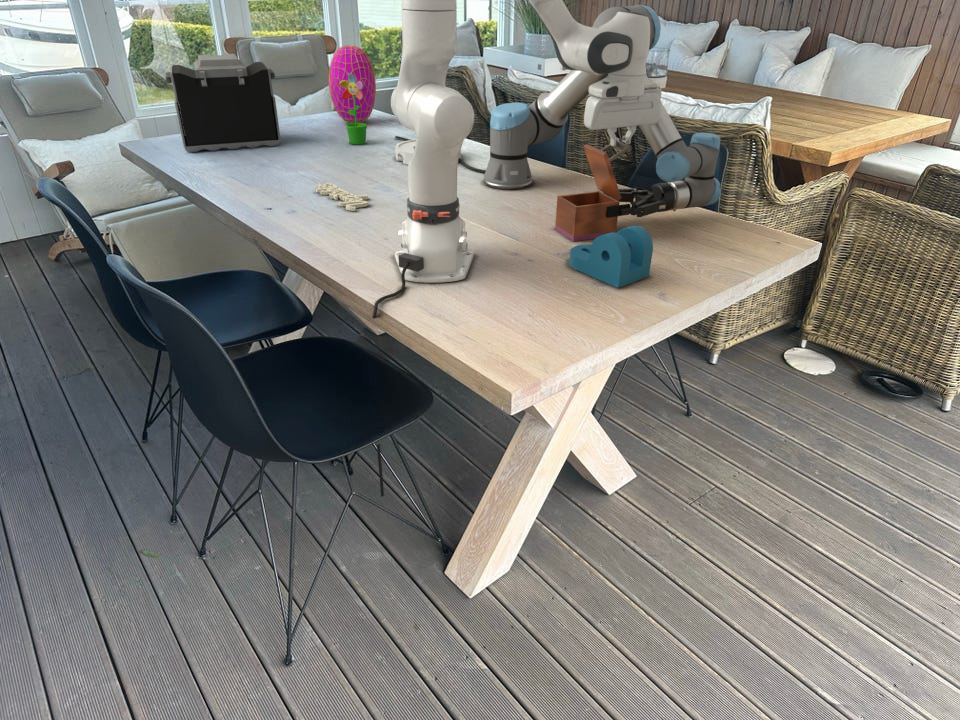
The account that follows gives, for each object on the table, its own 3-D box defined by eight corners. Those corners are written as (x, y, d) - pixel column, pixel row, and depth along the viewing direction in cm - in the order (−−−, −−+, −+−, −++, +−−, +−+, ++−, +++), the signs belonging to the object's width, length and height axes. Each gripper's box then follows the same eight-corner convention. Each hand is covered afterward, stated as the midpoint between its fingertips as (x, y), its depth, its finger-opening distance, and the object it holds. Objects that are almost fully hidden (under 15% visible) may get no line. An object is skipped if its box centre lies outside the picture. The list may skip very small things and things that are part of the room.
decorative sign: (381, 201, 196) (350, 208, 191) (381, 205, 197) (350, 211, 192) (338, 180, 214) (308, 186, 209) (338, 183, 215) (308, 189, 209)
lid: (603, 155, 166) (631, 137, 166) (582, 146, 173) (609, 129, 174) (618, 200, 173) (644, 183, 174) (597, 189, 181) (623, 173, 182)
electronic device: (278, 133, 274) (267, 51, 259) (285, 146, 256) (274, 59, 241) (180, 140, 262) (162, 54, 247) (180, 153, 244) (161, 62, 229)
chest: (573, 241, 174) (576, 207, 170) (554, 228, 182) (557, 195, 177) (615, 235, 178) (619, 201, 174) (596, 223, 186) (599, 190, 182)
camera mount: (649, 276, 155) (655, 231, 150) (618, 287, 149) (623, 242, 144) (590, 252, 167) (594, 210, 162) (559, 262, 161) (562, 219, 156)
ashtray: (454, 167, 232) (454, 155, 230) (388, 164, 235) (387, 152, 233) (466, 151, 252) (466, 140, 250) (404, 148, 255) (404, 137, 253)
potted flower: (342, 144, 260) (336, 73, 247) (351, 139, 266) (346, 70, 254) (365, 146, 257) (360, 74, 245) (374, 141, 264) (369, 71, 251)
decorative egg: (362, 116, 305) (357, 42, 290) (386, 123, 292) (382, 46, 277) (324, 121, 294) (316, 45, 279) (347, 129, 281) (340, 49, 266)
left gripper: (654, 81, 171) (647, 138, 178) (582, 87, 164) (578, 145, 171) (669, 85, 166) (662, 143, 173) (596, 91, 159) (591, 151, 166)
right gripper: (691, 223, 178) (618, 234, 171) (642, 198, 196) (573, 207, 188) (696, 194, 174) (622, 204, 167) (645, 172, 192) (576, 180, 185)
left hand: (620, 144), depth 172 cm, fingers closed
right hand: (596, 206), depth 178 cm, fingers closed on chest, 10 cm apart
